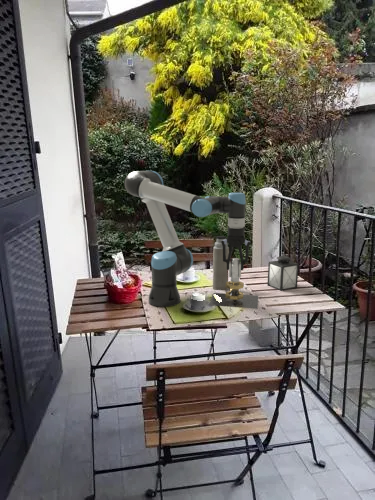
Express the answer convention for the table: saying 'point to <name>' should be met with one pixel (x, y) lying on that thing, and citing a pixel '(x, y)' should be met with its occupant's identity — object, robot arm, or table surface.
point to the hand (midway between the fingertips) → (234, 276)
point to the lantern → (282, 273)
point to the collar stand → (235, 298)
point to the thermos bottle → (220, 265)
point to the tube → (234, 275)
